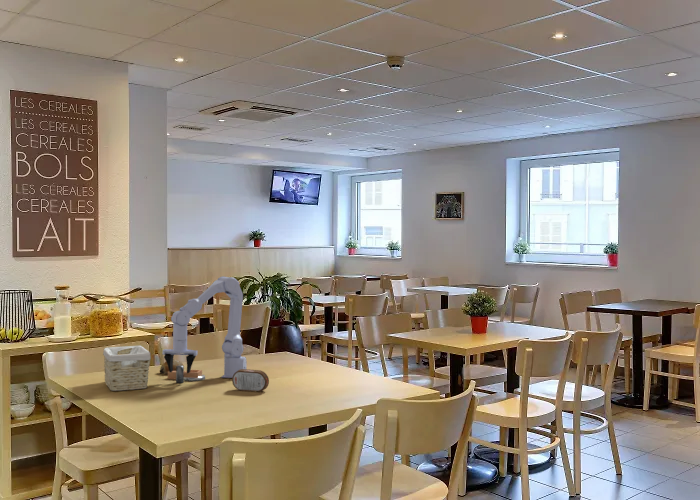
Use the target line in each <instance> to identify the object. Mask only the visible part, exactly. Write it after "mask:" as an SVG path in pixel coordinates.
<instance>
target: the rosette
mask: <svg viewBox="0 0 700 500" xmlns="http://www.w3.org/2000/svg"><path fill="white" fill-rule="evenodd" d="M205 380H206V375H205V374H202V375H201V376H200V377H198V378H189V377H184V382H199V381H205Z"/></svg>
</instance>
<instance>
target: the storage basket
mask: <svg viewBox="0 0 700 500" xmlns="http://www.w3.org/2000/svg"><path fill="white" fill-rule="evenodd" d="M102 355H103V356H104V363H103V364H104V369H103V370H104V382H105V385H106V386H107V387H108V389H109V390H110V391H112V392H117V391H120V392H121V391H128V390H129V391H133V390H142V389H147V388H148V383H149V382H148V381H149V372H150V371H149V370H150V364H151V352H150V351H149V350H148V349H146V348H145V347H144V346H142V345H129V346H128V345H126V346H125V345H124V346H113V347H104V349H103V354H102Z"/></svg>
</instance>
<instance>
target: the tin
mask: <svg viewBox="0 0 700 500" xmlns="http://www.w3.org/2000/svg"><path fill="white" fill-rule="evenodd" d="M231 379H232V385H233V387H234V388H235V389H236V390H237V391H240V392H241V391H242V392H243V391H244V392H252V391H258V392H257V393H261V392H263V391H265V390H266V389H268V386H269V383H270V379H269V376H268V374H267V373H266V372H265V371H263V370H260V369H247V368H246V369H240V370H238V371H237V372H235V373H234V375H233V377H232V378H231ZM259 391H260V392H259Z"/></svg>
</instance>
